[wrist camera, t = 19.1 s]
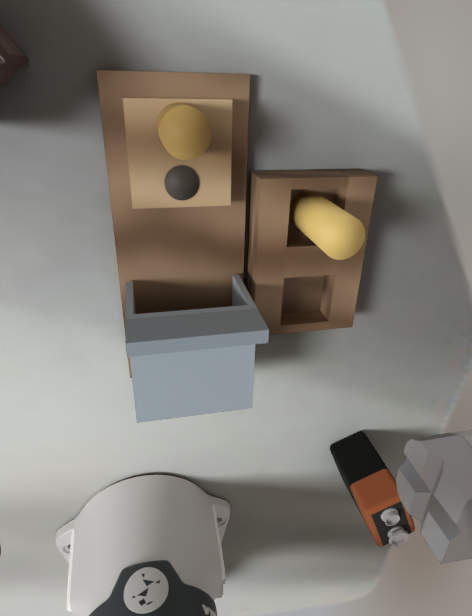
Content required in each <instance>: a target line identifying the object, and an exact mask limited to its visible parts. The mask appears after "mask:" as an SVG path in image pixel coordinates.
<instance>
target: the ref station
mask: <svg viewBox="0 0 472 616" xmlns="http://www.w3.org/2000/svg"><path fill="white" fill-rule="evenodd" d="M96 73H97V82H98V91H99V100H100V109H101V118H102V127H103V136H104V145H105V154H106V164H107V173H108V182H109V191H110V200H111V209H112V218H113V227H114V236H115V245H116V254H117V263H118V272H119V281H120V290H121V299H122V308H123V317H124V326H125V335H126V282H133V292H134V302H135V313H136V314H144V313H156V312H168V311H181V310H193V309H205V308H218V307H230V306H232V283H233V275H239V276H240V278H241V280H242V282H243V271H244V241H245V211H246V181H247V151H248V121H249V91H250V74H226V73H188V72H149V71H111V70H96ZM128 362H129V371H130V378H132V372H131V363H130V357H128Z"/></svg>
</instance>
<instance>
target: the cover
mask: <svg viewBox="0 0 472 616" xmlns="http://www.w3.org/2000/svg"><path fill="white" fill-rule="evenodd" d="M268 339H269V329H268V327H267V325H266V323H265V322H264V320H263V318H262V316H261V314H260V312H259V311H258V309H257V307H256V305H255V303H254V302H253V300H252V298H251V296H250V294H249V292H248V291H247V289H246V287H245V285H244V283H243V282H242V280H241V278H240V276H239V275H233V283H232V306H230V307H218V308H205V309H193V310H181V311H168V312H156V313H144V314H136V313H135V302H134V292H133V282H126V351H127V357H130V363H131V372H132V382H133V391H134V400H135V409H136V419H137V423H139V422H147V421H155V420H162V419H170V418H178V417H186V416H193V415H201V414H209V413H217V412H224V411H232V410H240V409H248V408H252V401H253V381H254V362H255V344H264V343H268Z"/></svg>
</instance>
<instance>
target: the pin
mask: <svg viewBox="0 0 472 616" xmlns="http://www.w3.org/2000/svg"><path fill="white" fill-rule="evenodd" d="M289 218H290V220H291V222H292V223H293V224H294V225H295V226H296V227H297V228H298V229H300V230H301V231H302V232H303V233H304V234H305V235H306V236H307V237H308V238H309V239H310V240H312V241H313V242H314V243H315V244H316V245H317V246H318V247H319V248H320V249H321V250H322V251H323V252H325V253H326V254H327V255H328V256H329V257H331V258H333V259H336V260H344V259H347V258H350V257H351V256H353V255H354V254H356V253H357V252H358V251H359V249H360V248H361V246H362V245H363V242H364V239H365V228H364V226H363V224H362V222H361V221H360V220H358V219H357V218H355V217H354V216H352V215H351V214H349V213H348V212H346V211H345V210H343V209H341V208H340V207H338V206H337V205H335V204H334V203H332V202H331V201H329V200H327V199H326V198H324V197H323V196H321V195H320V194H318V193H316V192H314V191H304V192H301V193H299V194H298V195H296V196H295V197H294V199H293V200H292V201H291V203H290V210H289Z"/></svg>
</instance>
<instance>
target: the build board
mask: <svg viewBox="0 0 472 616" xmlns="http://www.w3.org/2000/svg"><path fill="white" fill-rule="evenodd" d="M377 178H378V176H376V175H373V174H371V173H369V172H366V171H364V170H361V169H315V170H262V171H251V176H250V202H249V229H248V256H247V283H246V289H247V291H248V292H249V294H250V296H251V298H252V300H253V302H254V303H255V305H256V307H257V309H258V311H259V312H260V314H261V316H262V318H263V320H264V322H265V323H266V325H267V327H268V329H269V335H274V334H285V333H295V332H306V331H316V330H326V329H337V328H347V327H352V325H353V319H354V313H355V307H356V302H357V296H358V290H359V284H360V278H361V272H362V266H363V260H364V254H365V248H366V242H367V237H368V231H369V225H370V219H371V213H372V207H373V201H374V195H375V189H376V183H377ZM304 191H314V192H316V193H318V194H320V195H321V196H323V197H324V198H326V199H327V200H329V201H331V202H332V203H334V204H335V205H337V206H338V207H340V208H341V209H343V210H345V211H346V212H348V213H349V214H351V215H352V216H354V217H355V218H357V219H358V220H360V221H361V222H362V224H363V226H364V228H365V239H364V242H363V245H362V246H361V248H360V249H359V251H358V252H357V253H356V254H354V255H353V256H351V257H350V258H347V259H344V260H336V259H333V258H331V257H329V256H328V255H327V254H326V253H325V252H323V251H322V250H321V249H320V248H319V247H318V246H317V245H316V244H315V243H314V242H313V241H312V240H310V239H309V238H308V237H307V236H306V235H305V234H304V233H303V232H302V231H301V230H300V229H298V228H297V227H296V226H295V225H294V224H293V223H292V222H291V220H290V218H289V210H290V203H291V201H292V200H293V199H294V197H295V196H296V195H298V194H299V193H301V192H304Z"/></svg>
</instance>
